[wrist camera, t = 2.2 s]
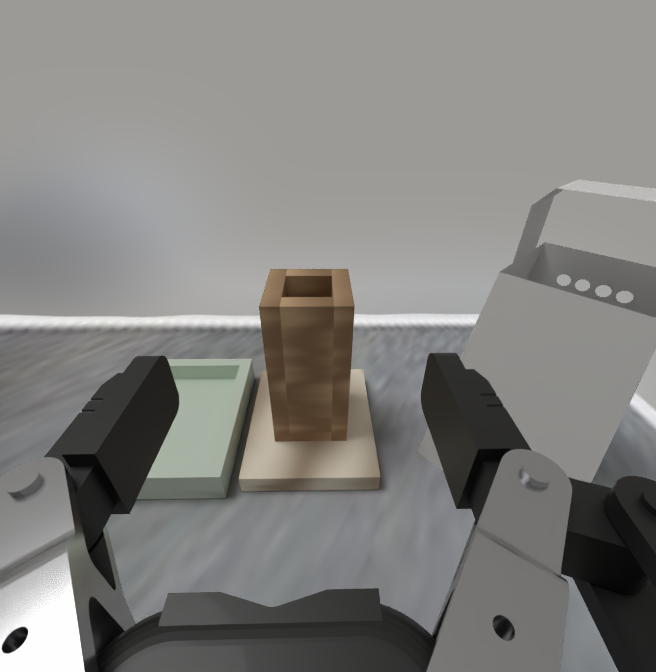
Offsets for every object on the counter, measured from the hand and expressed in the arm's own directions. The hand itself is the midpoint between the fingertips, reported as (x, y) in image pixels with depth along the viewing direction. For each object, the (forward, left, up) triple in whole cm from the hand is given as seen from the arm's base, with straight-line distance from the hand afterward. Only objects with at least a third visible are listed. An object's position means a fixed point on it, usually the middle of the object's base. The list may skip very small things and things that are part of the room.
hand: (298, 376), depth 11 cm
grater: (+16, +9, -16) cm, 25 cm away
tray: (-12, +12, -16) cm, 23 cm away
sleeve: (0, +12, -15) cm, 19 cm away
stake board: (0, +12, -16) cm, 20 cm away
